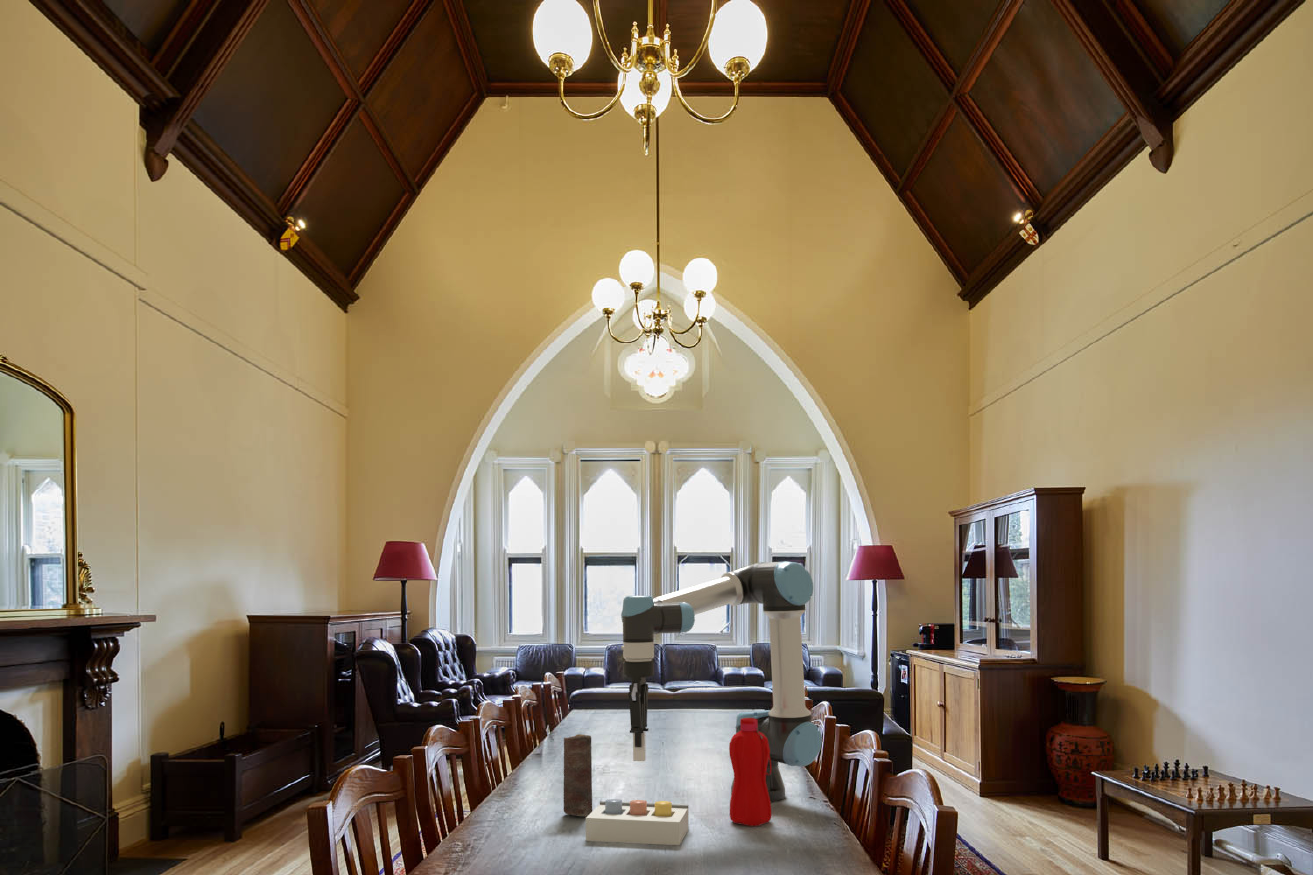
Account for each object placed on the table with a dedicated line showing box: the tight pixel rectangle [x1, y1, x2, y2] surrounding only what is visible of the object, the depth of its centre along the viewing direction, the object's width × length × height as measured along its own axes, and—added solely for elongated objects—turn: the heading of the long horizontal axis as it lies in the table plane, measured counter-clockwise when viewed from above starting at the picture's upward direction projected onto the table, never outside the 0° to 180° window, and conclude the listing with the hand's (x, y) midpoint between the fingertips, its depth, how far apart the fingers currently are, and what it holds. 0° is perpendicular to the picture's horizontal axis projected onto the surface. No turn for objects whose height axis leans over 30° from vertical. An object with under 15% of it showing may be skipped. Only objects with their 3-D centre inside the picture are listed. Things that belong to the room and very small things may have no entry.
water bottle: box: [728, 718, 773, 827], centre depth 230 cm, size 9×11×25 cm
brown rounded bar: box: [563, 734, 593, 818], centre depth 236 cm, size 8×7×20 cm
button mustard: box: [654, 800, 672, 817], centre depth 217 cm, size 4×4×4 cm
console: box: [585, 800, 690, 846], centre depth 217 cm, size 22×14×6 cm, turn 80°
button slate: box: [605, 798, 623, 815], centre depth 219 cm, size 4×4×4 cm
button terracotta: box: [630, 799, 648, 816], centre depth 218 cm, size 4×4×4 cm
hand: (639, 760), depth 220 cm, fingers closed
